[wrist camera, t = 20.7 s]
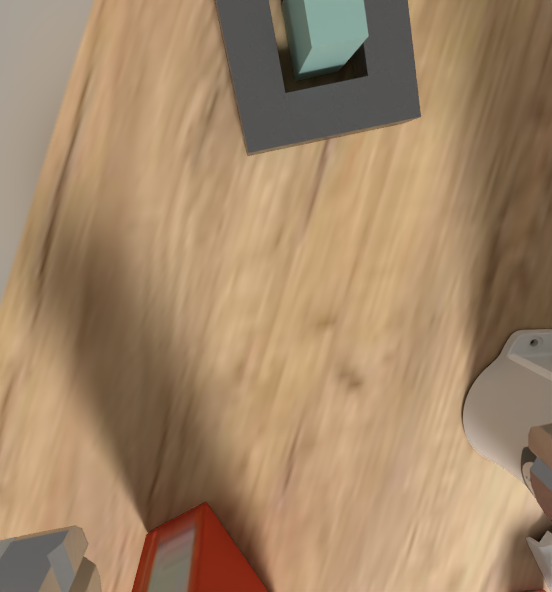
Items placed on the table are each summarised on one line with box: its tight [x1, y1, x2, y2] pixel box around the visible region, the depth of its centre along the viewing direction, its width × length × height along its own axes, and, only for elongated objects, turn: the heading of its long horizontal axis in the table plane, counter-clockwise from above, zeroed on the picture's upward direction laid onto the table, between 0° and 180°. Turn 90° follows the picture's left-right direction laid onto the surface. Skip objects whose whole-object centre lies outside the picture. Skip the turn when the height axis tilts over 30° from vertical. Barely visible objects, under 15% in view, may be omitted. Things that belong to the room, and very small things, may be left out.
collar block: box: [215, 0, 421, 156], centre depth 38 cm, size 15×17×4 cm
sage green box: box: [282, 0, 369, 81], centre depth 35 cm, size 4×6×10 cm, turn 12°
